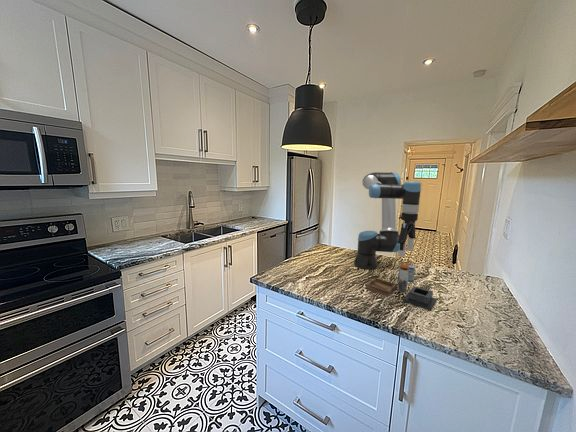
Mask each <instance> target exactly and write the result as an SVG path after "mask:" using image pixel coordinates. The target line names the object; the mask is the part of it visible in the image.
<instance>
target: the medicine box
mask: <svg viewBox="0 0 576 432" xmlns="http://www.w3.org/2000/svg"><path fill="white" fill-rule="evenodd" d="M400 265H401V263H399V268H398V276H397V277H398V278H397V280H399V275H400ZM415 267H416V266H415V265H412V264H409V271H408V281H407V282H409V283H413V282H414V276H415V269H416V268H415Z"/></svg>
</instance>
